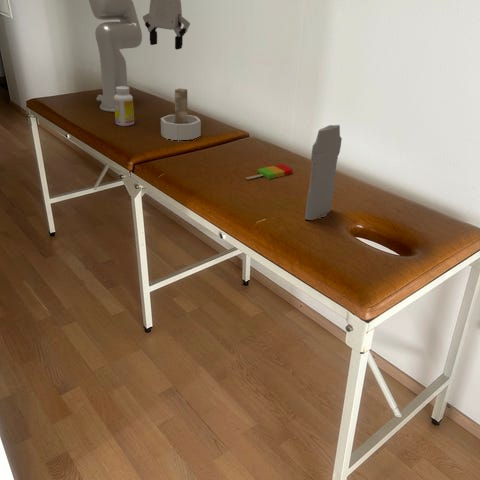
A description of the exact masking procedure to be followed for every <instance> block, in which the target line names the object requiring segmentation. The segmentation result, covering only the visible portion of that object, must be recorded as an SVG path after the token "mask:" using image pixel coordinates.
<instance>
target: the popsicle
mask: <svg viewBox="0 0 480 480" xmlns="http://www.w3.org/2000/svg"><path fill="white" fill-rule="evenodd" d="M257 173H259V174H260V175H259V174H257V175H256V174H255V175H251V176H247V177H245V180H252V179H256V178H262V177H263V176H265V177H267V178H268V179H269V178H274V177H278V178H280V177H279V176H283V177H285V176H284V175H287V176H289V175H288V174H291V175H292V174H293V169H292V167H289V166H287V165H285V164H282V163H281V164H276V165H271V166H265V167H262V168H258V169H257ZM261 176H262V177H261ZM265 177H264V178H265ZM267 178H266V179H267ZM268 179H267V180H268ZM274 179H275V178H274ZM269 180H270V179H269Z"/></svg>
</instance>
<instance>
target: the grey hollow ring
mask: <svg viewBox="0 0 480 480" xmlns="http://www.w3.org/2000/svg"><path fill="white" fill-rule="evenodd" d="M174 122H175V114H168V115H166V116H163V117H160V135H161V137H162V138H163V137H164V138H166V139H165V140H168V139H171V140H170V141H173V140H178V141H177V142H180V141H179V140H189V139H194V138H197V137H199V136H201V135H202V134H201V132H202V131H201V130H202V129H201V128H202V127H201V126H202V125H201V124H202V123H201V119H200V118H199V117H198V116H196V115H191V114H187V122H190V124H175V123H174ZM164 138H163V139H164ZM199 138H200V137H199ZM197 139H198V138H197Z"/></svg>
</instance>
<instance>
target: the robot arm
mask: <svg viewBox="0 0 480 480" xmlns="http://www.w3.org/2000/svg"><path fill="white" fill-rule="evenodd" d="M88 1H89V6H90V9H91V11H92V14H93V16H94V17H95V18H96V19H98V20H101V21H107V22H102V23H100V24H98V25H97V27H96V28H95V32H94V33H95V40H96V44H97V47H98V53H99V62H100V73H101V85H102V94H98V95H97V97H96V101H98V102H101V104H99V108H100V110H101V111H104V112H112V113H113V112H114V113H115V108H114V96H115V95H116V94H117V92H116V87H119V86H126V87H128V71H127V70H128V69H127V61H126V58H125V57H124V54H123V53H122V52H121V51H120V50H124V49H135V48H138V47H139V46H141V44H142V41H143V34H142V33H143V32H142V28H141V25H140V22H139V17H138V14H137V12H136V8H135V5H134V2H133V0H88ZM148 10H149V12H148V13H146V14H145V15H143V16H142V19H143V21H144V26H145V27H146V28H147V31H148V32H149V44H150V45H151V46H154V45H157V44H158V31H157V29H164V30H171V31H172V30H173V31H174V33H175V34H176V36H175V37H174V49H175V50H182V48H183V37H184V36H185V34H186V33H187V32H188V30H189V28H190V25H191V22H189V21H188V19H186V18H185V17H183V12H182V2H181V0H150V1H149V9H148ZM111 20H112V21H111ZM113 20H114V21H113ZM117 20H119V21H117ZM182 25H183V27H182Z"/></svg>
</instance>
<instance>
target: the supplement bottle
mask: <svg viewBox="0 0 480 480" xmlns="http://www.w3.org/2000/svg"><path fill="white" fill-rule="evenodd" d="M116 92H117V94H116V95H115V96H114V108H115V112H114V118H115V119H114V120H115V124H116V125H118V126H122V127H129V126H132V125H134V124H135V111H134V98H133V96H132V94H130V87H129V86H127V87H126V86H119V87H116Z"/></svg>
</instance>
